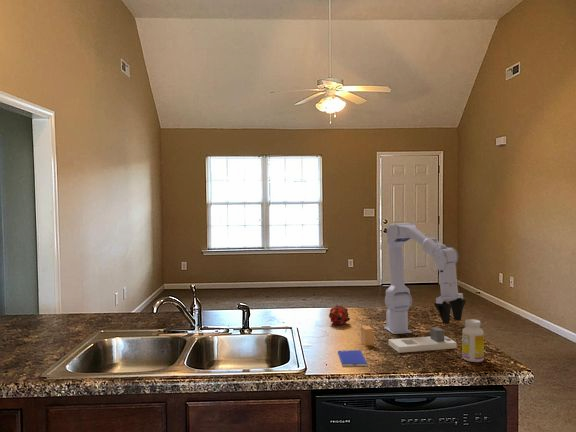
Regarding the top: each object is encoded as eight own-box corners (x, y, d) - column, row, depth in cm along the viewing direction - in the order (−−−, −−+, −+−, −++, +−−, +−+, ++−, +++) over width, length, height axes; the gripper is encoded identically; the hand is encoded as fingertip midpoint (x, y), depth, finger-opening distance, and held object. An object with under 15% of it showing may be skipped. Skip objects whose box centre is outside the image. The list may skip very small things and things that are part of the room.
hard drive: (337, 350, 158) (342, 363, 146) (360, 350, 158) (367, 362, 146) (337, 355, 158) (342, 368, 146) (361, 354, 158) (367, 367, 146)
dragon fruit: (340, 323, 203) (341, 335, 191) (324, 312, 203) (324, 323, 191) (351, 308, 201) (353, 319, 190) (336, 298, 201) (336, 308, 189)
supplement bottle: (485, 357, 152) (485, 319, 151) (482, 364, 146) (482, 324, 146) (464, 354, 155) (464, 317, 155) (460, 360, 149) (460, 322, 149)
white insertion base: (388, 344, 167) (388, 328, 167) (443, 340, 171) (443, 324, 171) (399, 352, 158) (398, 335, 158) (456, 348, 162) (456, 331, 162)
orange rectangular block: (361, 341, 171) (360, 326, 171) (368, 341, 171) (368, 325, 171) (365, 345, 166) (365, 329, 166) (373, 345, 167) (372, 328, 167)
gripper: (447, 284, 151) (451, 326, 150) (469, 280, 160) (473, 319, 159) (429, 284, 156) (432, 324, 155) (451, 280, 166) (454, 318, 165)
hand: (452, 322), depth 158 cm, fingers open, 7 cm apart
